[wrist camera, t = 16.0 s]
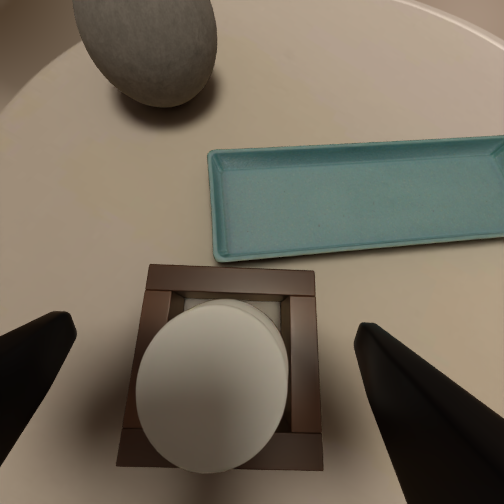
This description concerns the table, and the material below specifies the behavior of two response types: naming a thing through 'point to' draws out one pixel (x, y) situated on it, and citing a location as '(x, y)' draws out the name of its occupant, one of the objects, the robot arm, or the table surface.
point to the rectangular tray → (354, 196)
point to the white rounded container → (213, 386)
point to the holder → (294, 337)
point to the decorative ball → (151, 46)
